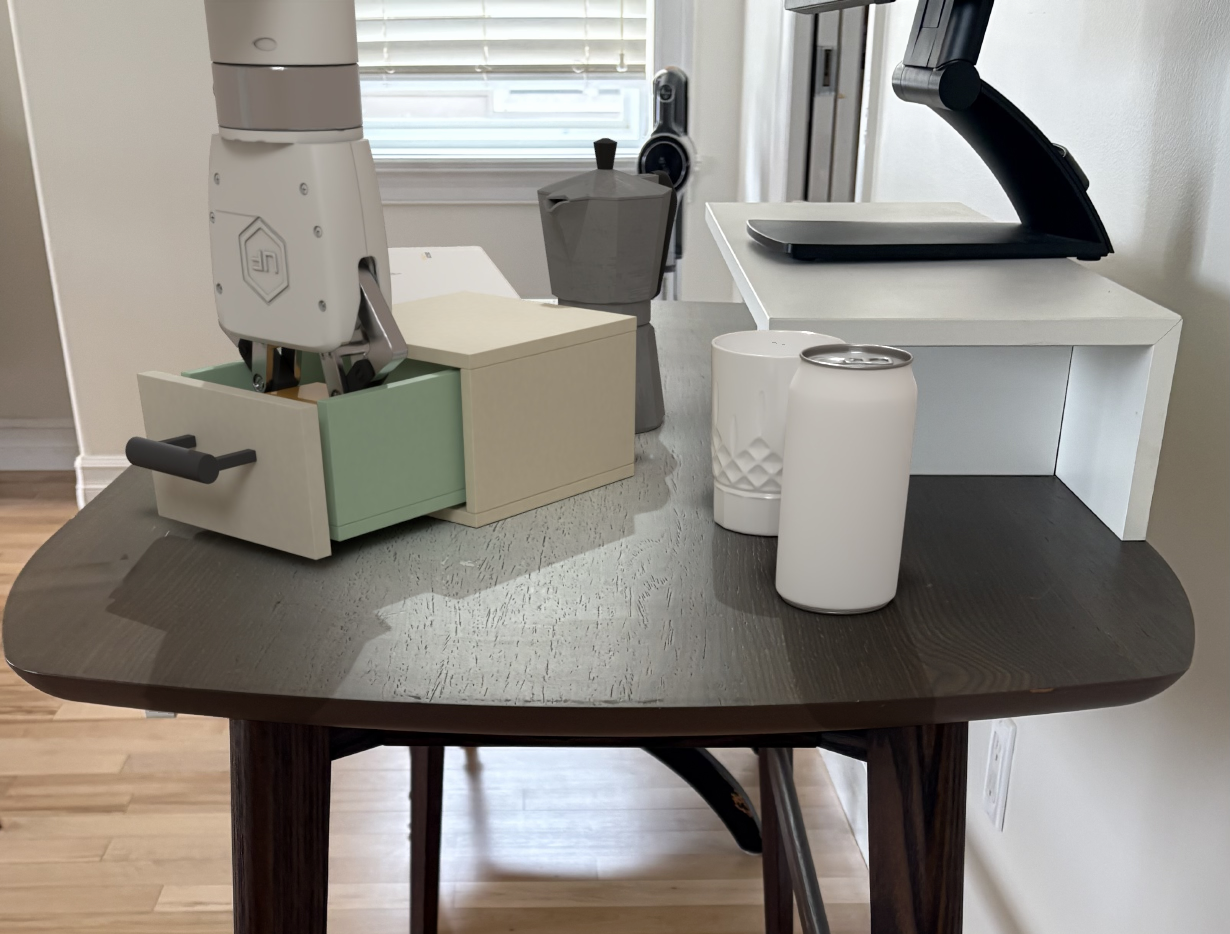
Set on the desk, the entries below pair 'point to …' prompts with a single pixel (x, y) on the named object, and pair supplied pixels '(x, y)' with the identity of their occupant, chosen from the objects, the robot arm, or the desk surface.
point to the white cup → (752, 423)
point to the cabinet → (530, 396)
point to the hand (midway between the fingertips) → (321, 466)
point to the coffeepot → (613, 255)
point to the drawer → (301, 453)
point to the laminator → (444, 273)
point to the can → (845, 478)
